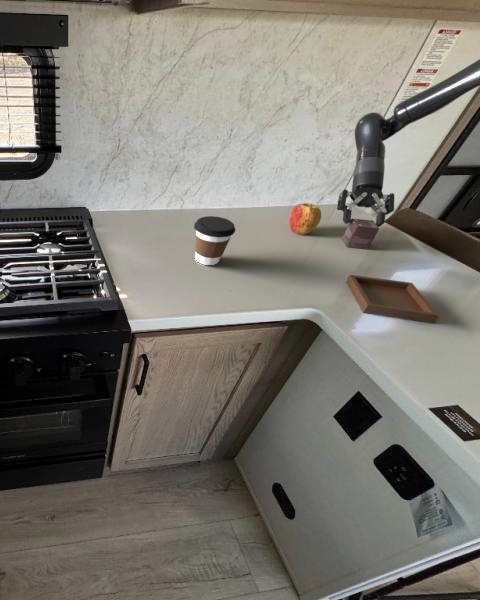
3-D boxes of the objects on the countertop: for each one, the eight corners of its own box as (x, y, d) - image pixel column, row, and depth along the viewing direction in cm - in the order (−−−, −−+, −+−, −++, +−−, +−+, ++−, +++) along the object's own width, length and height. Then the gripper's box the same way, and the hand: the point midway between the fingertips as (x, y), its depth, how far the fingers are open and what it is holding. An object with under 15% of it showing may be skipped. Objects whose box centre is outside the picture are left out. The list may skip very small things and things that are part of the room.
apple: (283, 225, 122) (293, 197, 116) (312, 228, 119) (323, 200, 113) (285, 235, 115) (296, 206, 109) (316, 239, 112) (329, 210, 107)
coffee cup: (201, 273, 97) (210, 234, 89) (180, 255, 105) (187, 218, 98) (233, 266, 99) (245, 228, 92) (210, 249, 108) (219, 213, 101)
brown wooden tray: (406, 290, 89) (411, 282, 88) (433, 323, 79) (439, 315, 77) (345, 281, 93) (349, 274, 91) (363, 312, 82) (367, 305, 81)
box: (368, 250, 107) (380, 228, 102) (345, 247, 108) (356, 225, 104) (362, 241, 111) (373, 220, 107) (340, 239, 113) (351, 217, 108)
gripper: (348, 167, 107) (343, 217, 105) (403, 171, 103) (398, 222, 101) (336, 179, 114) (331, 226, 112) (386, 183, 111) (382, 231, 109)
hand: (363, 224), depth 107 cm, fingers open, 8 cm apart
